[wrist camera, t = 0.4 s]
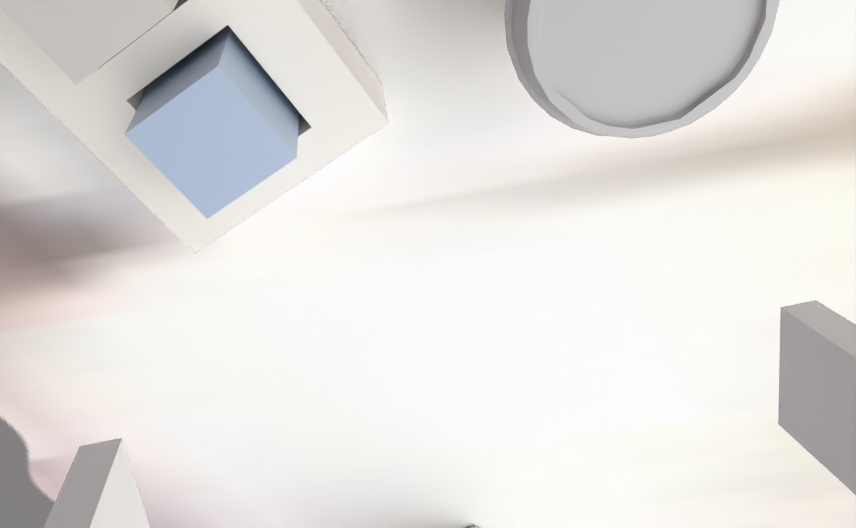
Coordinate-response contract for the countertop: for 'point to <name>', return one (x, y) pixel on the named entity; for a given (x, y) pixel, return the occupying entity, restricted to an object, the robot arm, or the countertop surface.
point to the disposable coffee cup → (634, 58)
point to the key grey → (85, 28)
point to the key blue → (216, 123)
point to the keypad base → (169, 43)
